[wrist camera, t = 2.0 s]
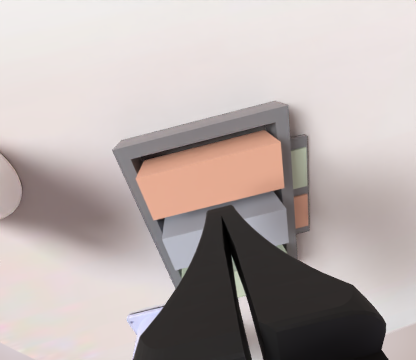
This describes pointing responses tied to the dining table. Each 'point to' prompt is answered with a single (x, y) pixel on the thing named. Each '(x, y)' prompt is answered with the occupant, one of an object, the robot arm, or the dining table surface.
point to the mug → (8, 188)
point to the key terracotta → (211, 174)
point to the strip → (300, 182)
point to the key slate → (247, 207)
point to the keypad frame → (199, 131)
